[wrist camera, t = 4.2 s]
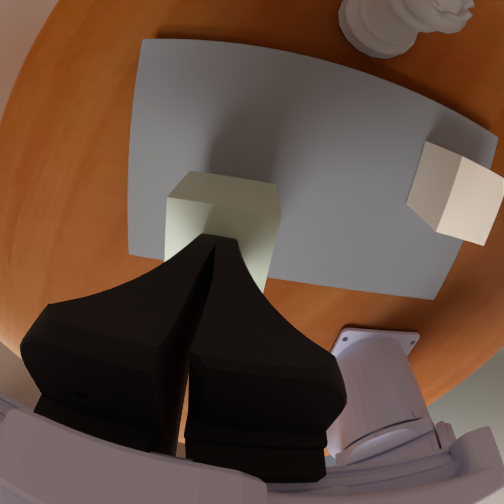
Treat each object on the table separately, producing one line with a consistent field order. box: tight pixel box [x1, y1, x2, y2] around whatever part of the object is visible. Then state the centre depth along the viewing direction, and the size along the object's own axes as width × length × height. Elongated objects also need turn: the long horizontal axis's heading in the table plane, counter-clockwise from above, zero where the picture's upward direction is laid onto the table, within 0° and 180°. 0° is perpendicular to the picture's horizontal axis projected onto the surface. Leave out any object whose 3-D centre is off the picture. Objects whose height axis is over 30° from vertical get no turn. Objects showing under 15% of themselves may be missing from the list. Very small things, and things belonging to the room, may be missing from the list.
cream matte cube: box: [406, 141, 504, 246], centre depth 13 cm, size 4×4×4 cm
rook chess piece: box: [338, 0, 475, 59], centre depth 8 cm, size 4×4×8 cm
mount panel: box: [128, 39, 498, 300], centre depth 15 cm, size 13×22×4 cm, turn 80°
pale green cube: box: [164, 171, 282, 293], centre depth 13 cm, size 4×4×4 cm
